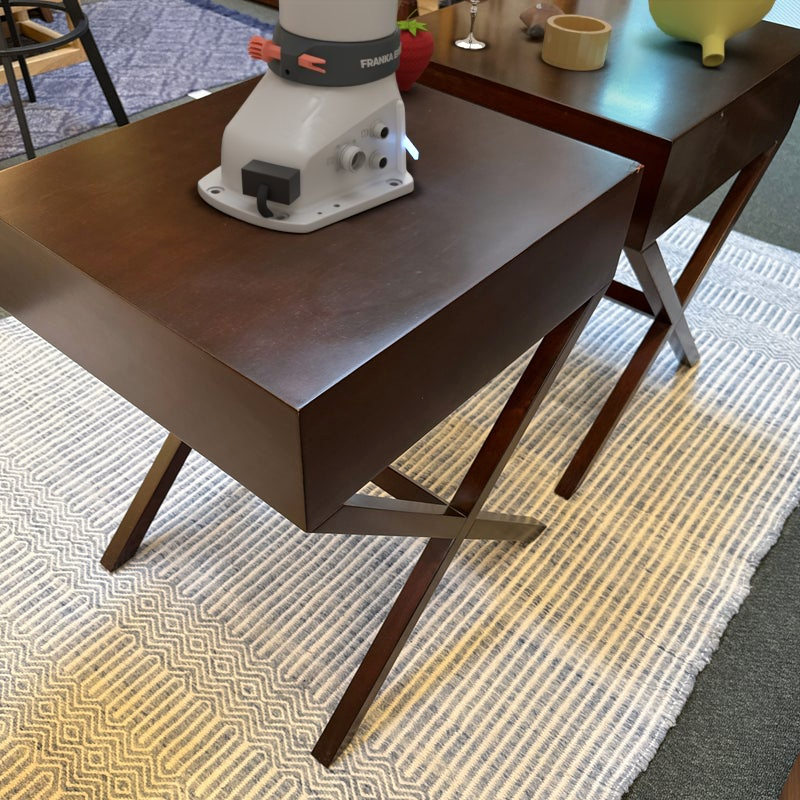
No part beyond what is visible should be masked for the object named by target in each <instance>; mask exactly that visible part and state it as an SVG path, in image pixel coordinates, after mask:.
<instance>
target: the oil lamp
mask: <svg viewBox="0 0 800 800" xmlns="http://www.w3.org/2000/svg"><path fill="white" fill-rule="evenodd" d="M556 15H566V13H565V12H564V11H563V10H562V9H561V8H560V7H559V6H558V5H555V4H553V3H548V2H540V3H536V4H533V5H531V6H529V7H528V8H526V9H524V10H523V11H521V12H520V14H519V16H518V17H519V19H520V21H521V22H522V23H523V24H524V25H525V26H526V27H527V28H528V29H527V30H526V35H527V36H528V37H531V38H533V37H535V38H536V37H537V38H542V37H544V36H545V30H546V23H547V20H548V18H550V17H552V16H556Z"/></svg>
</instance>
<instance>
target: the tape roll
mask: <svg viewBox="0 0 800 800" xmlns="http://www.w3.org/2000/svg"><path fill="white" fill-rule="evenodd" d="M612 29H613V27H612V25H611V24H610V23H608V22H607V21H605V20H603V19H600V18H596V17H593V16H588V15H581V14H565V15H556V16H552V17H550V18H548V20H547V23H546V30H545V34H544V36H543V42H542V49H541V59H542V61H543V62H545V63H546V64H547V65H550V66H552V67H555V68H559V69H563V70H570V71H579V72H580V71H581V72H584V71H586V72H588V71H595V70H596V71H597V70H599V69H601V68H603V67H604V66H605V62H606V57H607V54H608V53H607V52H608V49H609V44H610V37H611V34H612Z"/></svg>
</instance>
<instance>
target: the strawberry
mask: <svg viewBox="0 0 800 800" xmlns="http://www.w3.org/2000/svg"><path fill="white" fill-rule="evenodd" d="M416 11H418V8H416V9H415V10H413V12H411V13H410V14H409V15H408V17H407V18H406V21H405V20H399V21H397V25H398V26H399V28H400V31H401V32H400V42H401V53H400V61H399V68H398V69H397V70H396V71H395V76H396V82H397V86H398V88H399V89H400V90H401V91H402V92H407V91H409V90H410V89H411V88H412V87H413V86H414V84H415V83H416V81H417V80H418V79H419V78H420V77H421V76H422V74H423V73H424V71H425V70H426V69H427V68H428V66H429V65H430V62H431V60H432V57H433V54H434V51H435V40H434V36H433V35H432V34H431V32H430V31H429V30H428V29H426V28H425V27H426V26H428V25H429V24H428V23H423V22H419V21H418V22H417V19H416V18H415V19H413V20H410V21H409V18H410V17H411V16H412V15H413V14H414V13H415V12H416Z"/></svg>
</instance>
